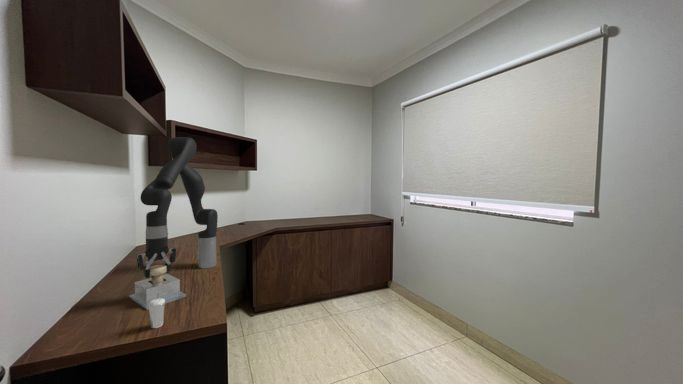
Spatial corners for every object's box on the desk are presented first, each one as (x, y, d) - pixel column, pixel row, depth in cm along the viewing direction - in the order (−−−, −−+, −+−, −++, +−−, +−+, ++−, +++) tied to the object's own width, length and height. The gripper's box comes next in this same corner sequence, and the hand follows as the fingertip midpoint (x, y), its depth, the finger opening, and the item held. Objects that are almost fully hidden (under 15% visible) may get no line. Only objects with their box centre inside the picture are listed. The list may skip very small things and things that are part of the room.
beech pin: (145, 286, 106) (145, 267, 106) (162, 281, 112) (162, 263, 111) (151, 290, 103) (151, 270, 103) (169, 285, 108) (169, 266, 108)
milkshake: (166, 319, 90) (166, 292, 90) (164, 327, 85) (164, 298, 85) (150, 323, 88) (150, 294, 88) (147, 331, 83) (147, 301, 83)
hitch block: (129, 297, 107) (129, 281, 106) (167, 286, 118) (166, 271, 118) (146, 310, 97) (146, 291, 96) (185, 296, 108) (185, 280, 108)
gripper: (171, 232, 115) (172, 269, 115) (132, 237, 103) (132, 278, 103) (179, 234, 110) (180, 272, 111) (139, 240, 98) (140, 282, 99)
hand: (157, 275), depth 107 cm, fingers closed on beech pin, 6 cm apart
